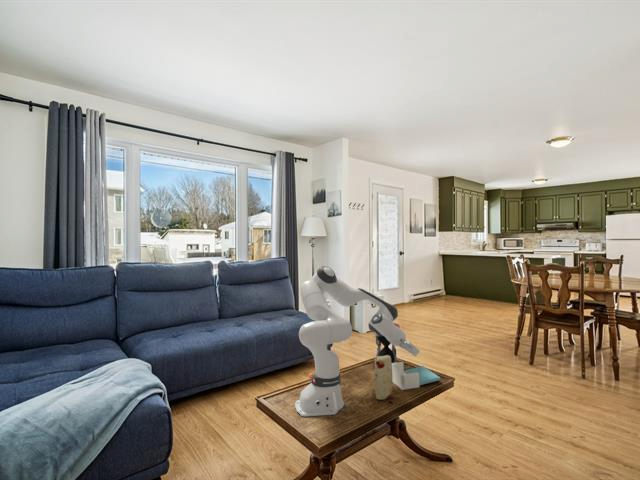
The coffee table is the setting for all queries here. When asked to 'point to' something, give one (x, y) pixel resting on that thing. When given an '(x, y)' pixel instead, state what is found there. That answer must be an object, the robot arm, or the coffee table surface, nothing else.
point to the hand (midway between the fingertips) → (414, 353)
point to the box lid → (423, 375)
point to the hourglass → (386, 348)
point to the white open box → (404, 377)
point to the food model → (383, 377)
